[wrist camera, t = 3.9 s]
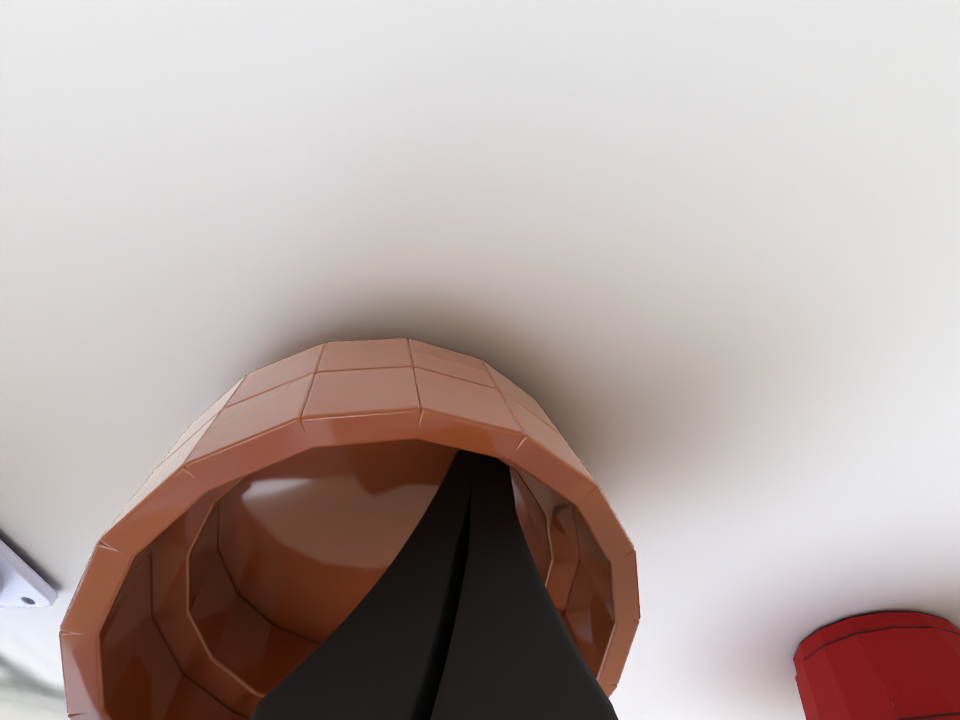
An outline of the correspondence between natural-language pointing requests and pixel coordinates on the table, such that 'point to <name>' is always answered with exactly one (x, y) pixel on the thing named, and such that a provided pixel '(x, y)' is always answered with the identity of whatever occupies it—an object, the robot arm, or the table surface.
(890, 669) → the plastic cup
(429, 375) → the bowl
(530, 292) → the table surface
